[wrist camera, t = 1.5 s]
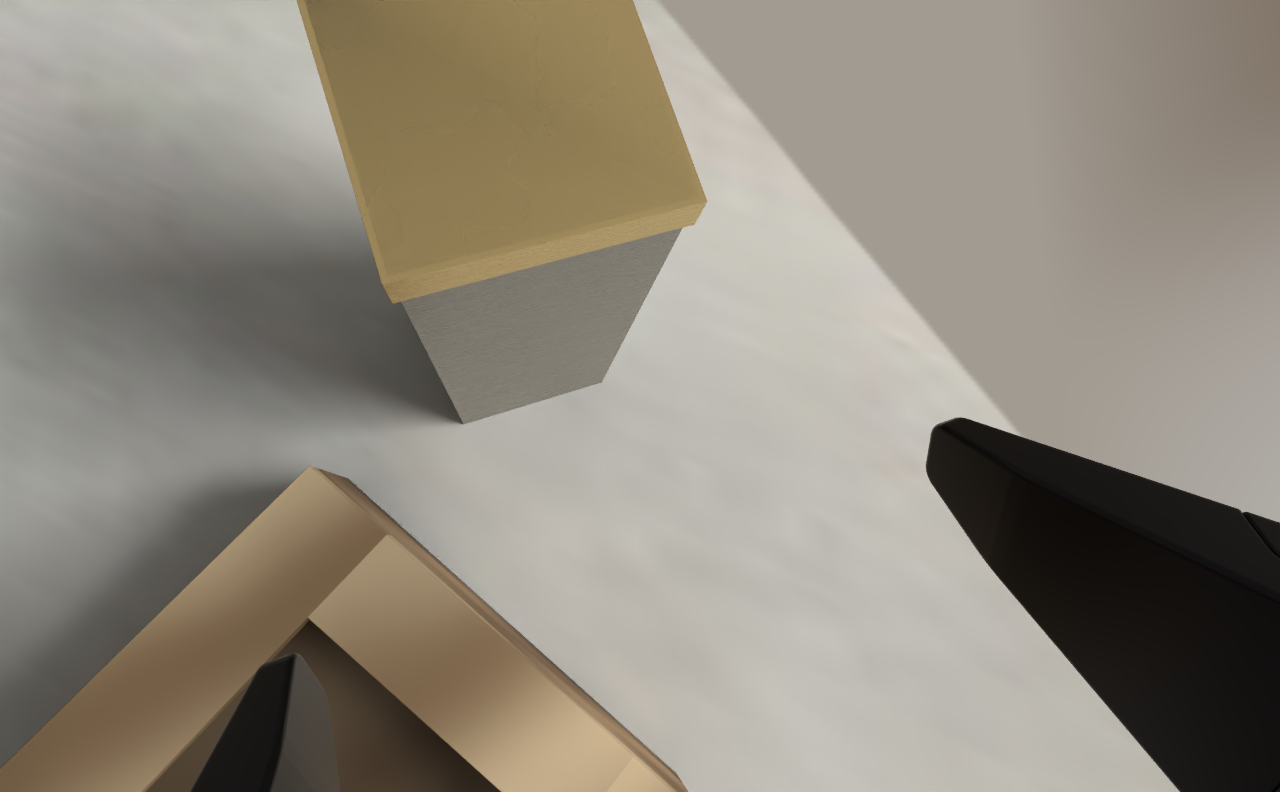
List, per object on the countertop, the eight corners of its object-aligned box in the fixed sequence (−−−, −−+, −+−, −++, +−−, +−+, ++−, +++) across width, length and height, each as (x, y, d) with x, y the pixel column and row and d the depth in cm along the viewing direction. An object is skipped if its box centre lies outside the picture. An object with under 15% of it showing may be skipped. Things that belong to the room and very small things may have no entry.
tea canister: (605, 384, 23) (707, 201, 10) (461, 428, 22) (381, 284, 9) (560, 250, 24) (605, -74, 11) (418, 287, 23) (289, -22, 10)
